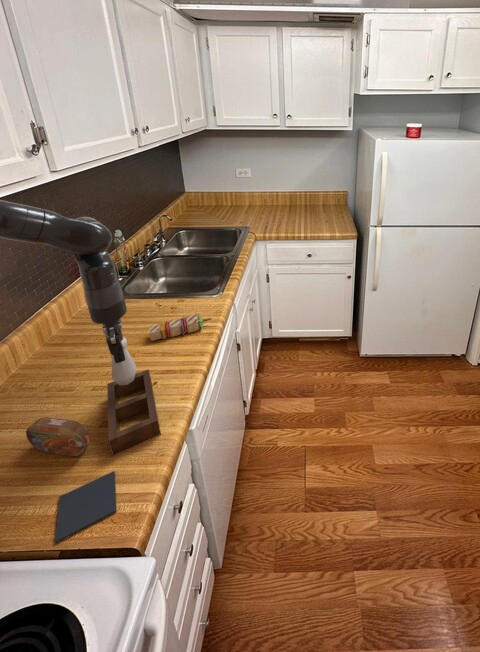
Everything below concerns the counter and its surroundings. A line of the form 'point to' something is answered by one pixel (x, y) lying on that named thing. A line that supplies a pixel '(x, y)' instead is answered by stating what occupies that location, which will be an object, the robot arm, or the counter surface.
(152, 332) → the skewer
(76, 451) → the tin
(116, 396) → the rack
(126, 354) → the salt shaker
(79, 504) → the mat
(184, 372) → the counter surface
